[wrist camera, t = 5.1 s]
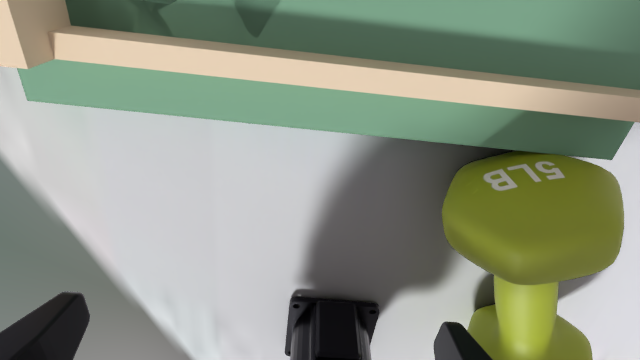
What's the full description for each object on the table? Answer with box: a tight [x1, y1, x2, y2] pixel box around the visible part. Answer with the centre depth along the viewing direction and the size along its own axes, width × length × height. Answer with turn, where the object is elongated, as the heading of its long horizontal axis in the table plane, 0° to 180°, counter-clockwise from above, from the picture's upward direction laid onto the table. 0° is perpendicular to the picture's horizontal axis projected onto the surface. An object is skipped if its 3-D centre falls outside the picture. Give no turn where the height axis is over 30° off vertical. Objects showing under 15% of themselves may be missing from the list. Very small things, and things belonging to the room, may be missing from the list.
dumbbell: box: [442, 151, 624, 360], centre depth 21 cm, size 16×8×7 cm, turn 16°
